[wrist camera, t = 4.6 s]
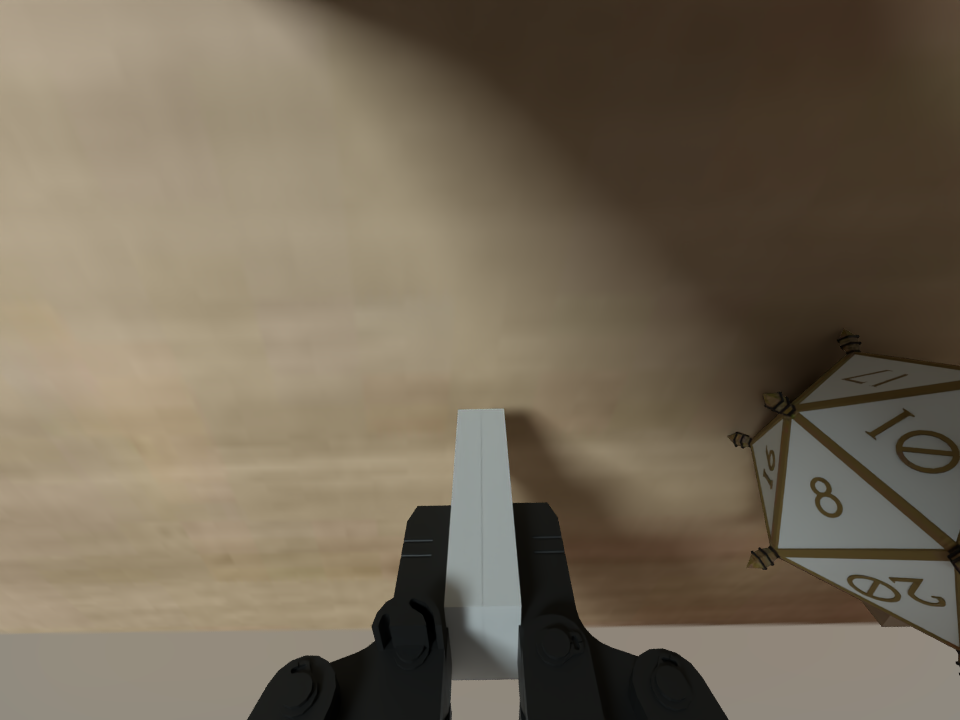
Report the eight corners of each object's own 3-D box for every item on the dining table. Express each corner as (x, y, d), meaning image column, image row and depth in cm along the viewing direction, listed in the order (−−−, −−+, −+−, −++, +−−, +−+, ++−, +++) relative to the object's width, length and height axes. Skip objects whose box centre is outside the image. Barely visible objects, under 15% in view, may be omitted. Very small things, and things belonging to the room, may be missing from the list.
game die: (759, 390, 20) (829, 645, 16) (649, 343, 15) (709, 684, 11) (1067, 310, 13) (1318, 712, 9) (1035, 188, 9) (1502, 871, 5)
